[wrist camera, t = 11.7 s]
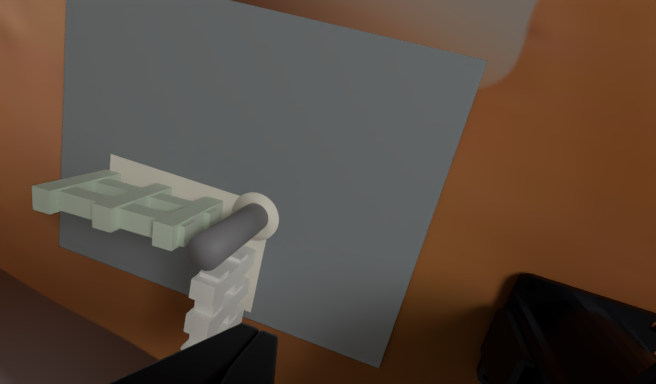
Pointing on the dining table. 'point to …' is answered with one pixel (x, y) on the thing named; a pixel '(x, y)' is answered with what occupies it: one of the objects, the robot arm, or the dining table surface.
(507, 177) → the dining table surface
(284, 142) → the mat
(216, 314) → the fixed fence panel
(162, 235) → the hinged fence panel
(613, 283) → the dining table surface
